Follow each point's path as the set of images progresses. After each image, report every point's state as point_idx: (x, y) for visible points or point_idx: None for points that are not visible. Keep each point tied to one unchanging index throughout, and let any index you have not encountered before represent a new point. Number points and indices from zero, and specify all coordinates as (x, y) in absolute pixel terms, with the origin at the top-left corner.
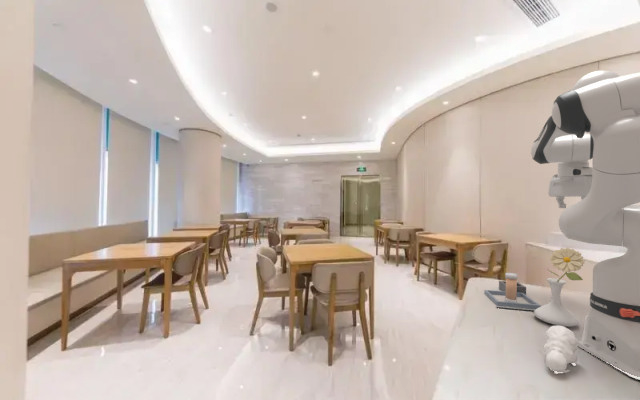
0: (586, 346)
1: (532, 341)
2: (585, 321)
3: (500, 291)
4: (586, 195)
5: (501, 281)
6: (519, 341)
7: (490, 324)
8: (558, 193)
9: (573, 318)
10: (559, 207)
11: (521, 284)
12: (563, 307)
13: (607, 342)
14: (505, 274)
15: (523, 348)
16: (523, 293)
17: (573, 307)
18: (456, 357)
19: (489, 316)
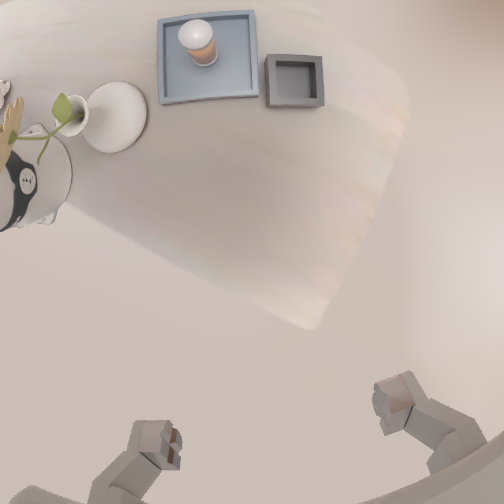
0: (27, 131)
1: (37, 69)
2: (17, 136)
3: (251, 41)
4: (42, 493)
5: (315, 59)
6: (35, 54)
7: (79, 16)
8: (453, 501)
9: (88, 140)
10: (400, 374)
11: (299, 103)
12: (92, 127)
13: None
14: (199, 21)
15: (21, 59)
16: (253, 93)
17: (229, 193)
18: (3, 7)
19: (112, 12)
